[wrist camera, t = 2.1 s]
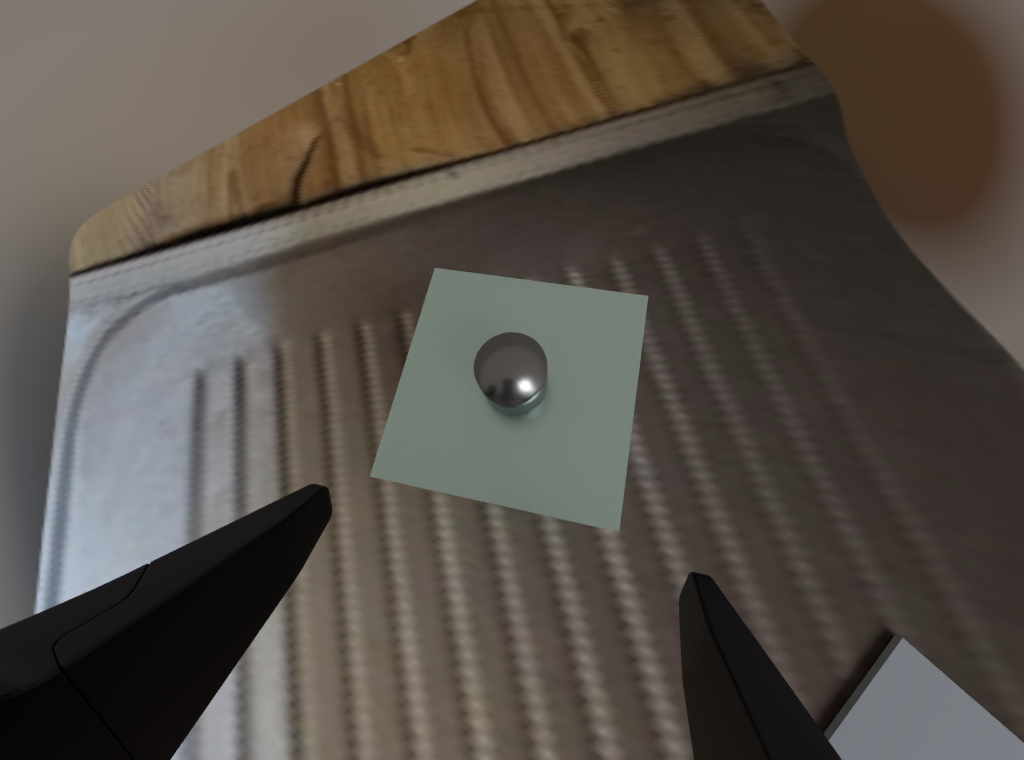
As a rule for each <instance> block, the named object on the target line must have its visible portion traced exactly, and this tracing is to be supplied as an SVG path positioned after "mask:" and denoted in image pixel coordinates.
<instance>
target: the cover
mask: <svg viewBox="0 0 1024 760" xmlns="http://www.w3.org/2000/svg"><path fill="white" fill-rule="evenodd" d="M647 302H648V296H644V295H637V294H629V293H622V292H614V291H606V290H599V289H591V288H584V287H576V286H568V285H561V284H553V283H546V282H538V281H531V280H523V279H515V278H508V277H500V276H493V275H485V274H477V273H470V272H462V271H455V270H447V269H440V268H435V269H434V272H433V275H432V279H431V282H430V285H429V288H428V291H427V295H426V298H425V301H424V304H423V308H422V311H421V314H420V317H419V320H418V324H417V327H416V330H415V333H414V336H413V340H412V343H411V346H410V349H409V352H408V356H407V359H406V362H405V365H404V368H403V372H402V375H401V378H400V381H399V385H398V388H397V391H396V394H395V397H394V401H393V404H392V407H391V410H390V413H389V417H388V420H387V423H386V426H385V429H384V433H383V436H382V439H381V442H380V445H379V449H378V452H377V455H376V458H375V462H374V465H373V468H372V471H371V474H370V477H374V478H379V479H383V480H388V481H392V482H397V483H401V484H406V485H410V486H414V487H419V488H423V489H428V490H432V491H437V492H441V493H446V494H450V495H454V496H459V497H463V498H468V499H472V500H477V501H481V502H486V503H490V504H495V505H499V506H504V507H508V508H513V509H517V510H522V511H526V512H531V513H535V514H540V515H544V516H549V517H553V518H557V519H562V520H566V521H571V522H575V523H580V524H585V525H589V526H594V527H598V528H603V529H608V530H612V531H617V532H619V529H620V521H621V513H622V504H623V496H624V488H625V480H626V472H627V464H628V456H629V448H630V440H631V431H632V423H633V415H634V407H635V399H636V391H637V383H638V375H639V367H640V358H641V350H642V342H643V334H644V326H645V318H646V310H647Z"/></svg>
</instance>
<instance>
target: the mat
mask: <svg viewBox="0 0 1024 760" xmlns="http://www.w3.org/2000/svg"><path fill="white" fill-rule="evenodd" d="M824 735H825V736H826V738H827V739H828V741H829V742H830V743H831V745H832V746H833V748H834V749H835V750H836V752H837V753H838V755H839V756H840V757H841V759H842V760H1024V743H1023V742H1022V741H1021V740H1020V739H1018V738H1017V737H1016V736H1015V735H1014V734H1013V733H1012V732H1010V731H1009V730H1008V729H1007V728H1006V727H1005V726H1003V725H1002V724H1001V723H1000V722H999V721H998V720H997V719H995V718H994V717H993V716H992V715H991V714H990V713H989V712H987V711H986V710H985V709H984V708H983V707H982V706H980V705H979V704H978V703H977V702H976V701H975V700H974V699H972V698H971V697H970V696H969V695H968V694H967V693H966V692H964V691H963V690H962V689H961V688H960V687H959V686H957V685H956V684H955V683H954V682H953V681H952V680H951V679H949V678H948V677H947V676H946V675H945V674H944V673H942V672H941V671H940V670H939V669H938V668H937V667H936V666H934V665H933V664H932V663H931V662H930V661H929V660H928V659H926V658H925V657H924V656H923V655H922V654H921V653H919V652H918V651H917V650H916V649H915V648H914V647H913V646H911V645H910V644H909V643H908V642H907V641H906V640H905V639H903V638H902V637H899V636H896V635H895V636H894V637H893V638H892V640H891V641H890V642H889V644H888V645H887V647H886V648H885V649H884V651H883V652H882V654H881V655H880V656H879V658H878V659H877V660H876V662H875V663H874V665H873V666H872V667H871V669H870V670H869V671H868V673H867V674H866V676H865V677H864V678H863V680H862V681H861V683H860V684H859V685H858V687H857V688H856V689H855V691H854V692H853V694H852V695H851V696H850V698H849V699H848V700H847V702H846V703H845V705H844V706H843V707H842V709H841V710H840V712H839V713H838V714H837V716H836V717H835V718H834V720H833V721H832V723H831V724H830V725H829V727H828V728H827V729H826V731H825V732H824Z"/></svg>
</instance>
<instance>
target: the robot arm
mask: <svg viewBox="0 0 1024 760" xmlns="http://www.w3.org/2000/svg"><path fill="white" fill-rule="evenodd" d="M331 515H332V505H331V499H330V493H329V489H328V488H327V487H326V486H322V485H318V484H310V485H308V486H306V487H304V488H301V489H299V490H297V491H295V492H293V493H291V494H289V495H287V496H285V497H283V498H281V499H279V500H277V501H275V502H273V503H271V504H269V505H267V506H265V507H263V508H260V509H258V510H256V511H254V512H252V513H250V514H248V515H246V516H244V517H242V518H240V519H238V520H236V521H234V522H232V523H230V524H228V525H226V526H224V527H222V528H219V529H217V530H215V531H213V532H211V533H209V534H207V535H205V536H203V537H201V538H199V539H197V540H195V541H193V542H191V543H189V544H187V545H185V546H183V547H181V548H178V549H176V550H174V551H172V552H170V553H168V554H166V555H164V556H162V557H160V558H158V559H156V560H154V561H152V562H151V563H150V564H145V565H143V566H141V567H139V568H137V569H135V570H133V571H131V572H129V573H127V574H125V575H123V576H121V577H119V578H116V579H114V580H112V581H110V582H108V583H106V584H104V585H102V586H99V587H97V588H95V589H93V590H91V591H88V592H86V593H84V594H81V595H79V596H77V597H75V598H72V599H70V600H68V601H66V602H63V603H61V604H59V605H56V606H54V607H52V608H49V609H47V610H45V611H42V612H40V613H38V614H35V615H33V616H31V617H28V618H26V619H24V620H21V621H19V622H17V623H14V624H12V625H9V626H7V627H5V628H2V629H0V760H171V758H172V757H173V755H174V754H175V752H176V751H177V749H178V748H179V747H180V745H181V744H182V742H183V741H184V739H185V738H186V736H187V735H188V734H189V732H190V731H191V729H192V728H193V726H194V725H195V723H196V722H197V721H198V719H199V718H200V716H201V715H202V713H203V712H204V710H205V709H206V708H207V706H208V705H209V703H210V702H211V700H212V699H213V697H214V696H215V695H216V693H217V692H218V690H219V689H220V687H221V686H222V685H223V683H224V682H225V680H226V679H227V677H228V676H229V674H230V673H231V672H232V670H233V669H234V667H235V666H236V664H237V663H238V661H239V660H240V659H241V657H242V656H243V654H244V653H245V651H246V650H247V648H248V647H249V646H250V644H251V643H252V641H253V640H254V638H255V637H256V635H257V634H258V633H259V631H260V630H261V628H262V627H263V625H264V624H265V622H266V621H267V620H268V618H269V617H270V615H271V614H272V612H273V611H274V609H275V608H276V607H277V605H278V604H279V602H280V601H281V599H282V598H283V596H284V595H285V594H286V592H287V591H288V589H289V588H290V586H291V585H292V583H293V582H294V580H295V579H296V577H297V576H298V574H299V573H300V571H301V570H302V568H303V566H304V565H305V563H306V561H307V559H308V557H309V556H310V554H311V552H312V550H313V548H314V547H315V545H316V543H317V541H318V540H319V538H320V536H321V534H322V532H323V531H324V529H325V527H326V525H327V524H328V522H329V520H330V518H331ZM679 618H680V641H681V664H682V679H683V688H684V695H685V702H686V708H687V715H688V722H689V729H690V735H691V742H692V749H693V756H694V760H842V759H841V757H840V756H839V755H838V753H837V752H836V750H835V749H834V748H833V746H832V745H831V743H830V742H829V741H828V739H827V738H826V736H825V735H824V734H823V732H822V731H821V729H820V728H819V727H818V725H817V724H816V722H815V721H814V720H813V718H812V717H811V715H810V714H809V713H808V711H807V710H806V708H805V707H804V706H803V704H802V703H801V702H800V700H799V699H798V697H797V696H796V695H795V693H794V692H793V690H792V689H791V688H790V686H789V685H788V683H787V682H786V681H785V679H784V678H783V676H782V675H781V674H780V672H779V671H778V669H777V668H776V667H775V665H774V664H773V662H772V661H771V660H770V658H769V657H768V655H767V654H766V653H765V651H764V650H763V648H762V647H761V646H760V644H759V643H758V642H757V640H756V639H755V637H754V636H753V635H752V633H751V632H750V630H749V629H748V628H747V626H746V625H745V623H744V622H743V621H742V619H741V618H740V616H739V615H738V614H737V612H736V611H735V609H734V608H733V607H732V605H731V604H730V602H729V601H728V600H727V598H726V597H725V595H724V594H723V593H722V591H721V590H720V588H719V587H718V586H717V584H716V583H715V581H714V580H713V579H712V578H711V577H710V576H708V575H705V574H701V573H696V572H691V573H690V574H689V575H688V577H687V580H686V582H685V584H684V587H683V589H682V591H681V594H680V598H679Z"/></svg>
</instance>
